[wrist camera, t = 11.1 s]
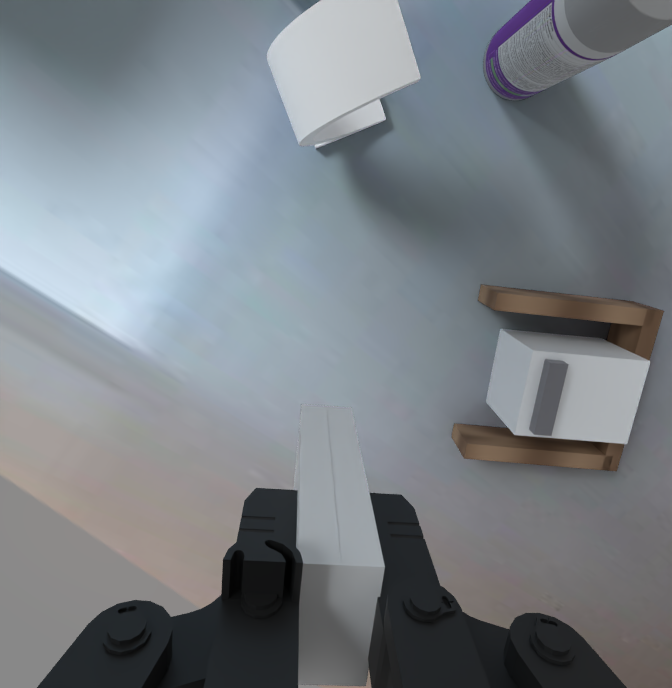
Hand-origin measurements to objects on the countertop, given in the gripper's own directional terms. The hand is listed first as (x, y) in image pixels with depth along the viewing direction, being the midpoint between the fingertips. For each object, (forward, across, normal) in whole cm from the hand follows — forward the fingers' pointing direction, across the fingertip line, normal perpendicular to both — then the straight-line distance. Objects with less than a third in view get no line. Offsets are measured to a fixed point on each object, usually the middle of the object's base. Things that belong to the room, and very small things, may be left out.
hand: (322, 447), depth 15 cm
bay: (+22, +18, -4) cm, 29 cm away
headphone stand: (+23, 0, +13) cm, 27 cm away
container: (+23, +12, +17) cm, 31 cm away
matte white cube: (+22, +18, -4) cm, 29 cm away
